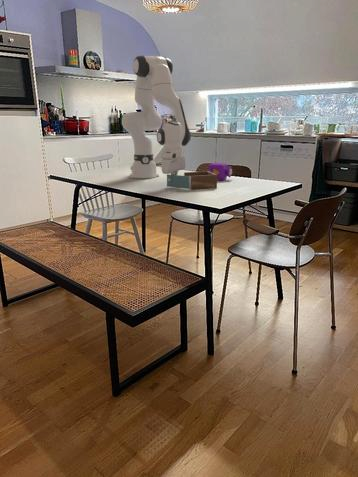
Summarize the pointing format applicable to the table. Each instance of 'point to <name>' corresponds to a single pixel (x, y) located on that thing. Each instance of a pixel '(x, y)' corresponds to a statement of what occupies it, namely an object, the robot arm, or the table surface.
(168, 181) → the side door
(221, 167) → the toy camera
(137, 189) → the table surface
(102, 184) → the table surface
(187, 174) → the storage case
